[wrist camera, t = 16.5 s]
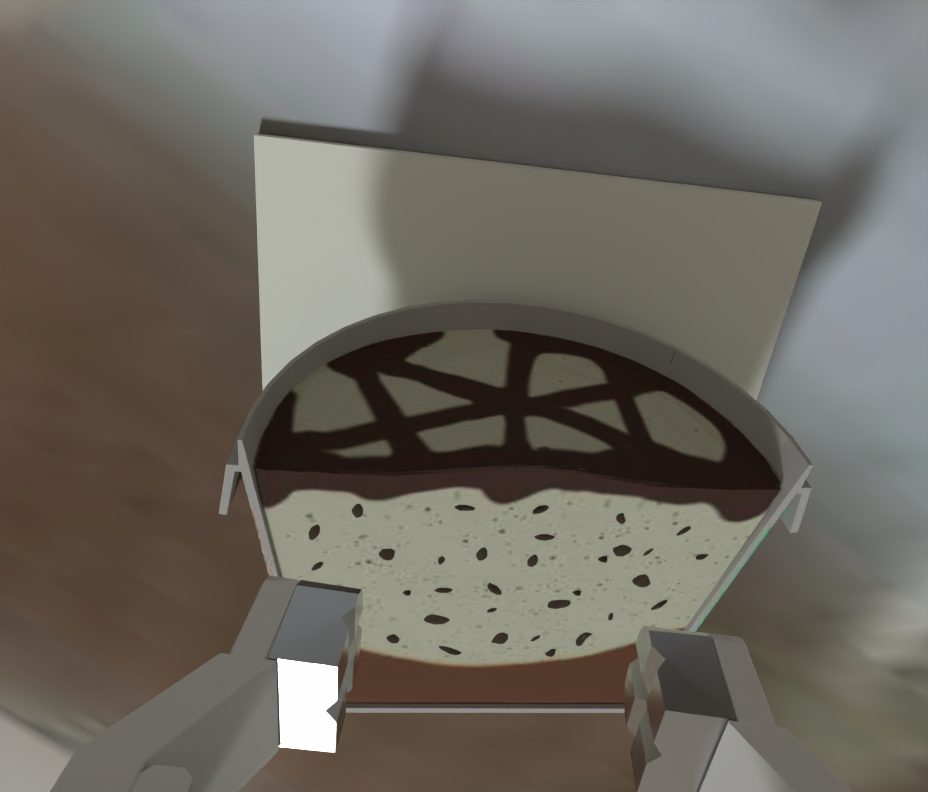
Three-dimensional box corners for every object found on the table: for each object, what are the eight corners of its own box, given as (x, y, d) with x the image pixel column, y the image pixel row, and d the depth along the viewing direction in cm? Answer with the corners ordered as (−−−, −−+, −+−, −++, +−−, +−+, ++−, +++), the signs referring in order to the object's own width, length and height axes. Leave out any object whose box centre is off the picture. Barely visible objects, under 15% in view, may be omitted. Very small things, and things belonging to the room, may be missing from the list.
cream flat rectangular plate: (817, 200, 18) (822, 202, 17) (695, 571, 23) (697, 577, 23) (258, 133, 18) (253, 135, 18) (269, 517, 23) (267, 522, 23)
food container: (634, 545, 25) (732, 304, 19) (686, 713, 21) (838, 466, 14) (281, 534, 24) (262, 271, 18) (248, 712, 19) (207, 438, 13)
